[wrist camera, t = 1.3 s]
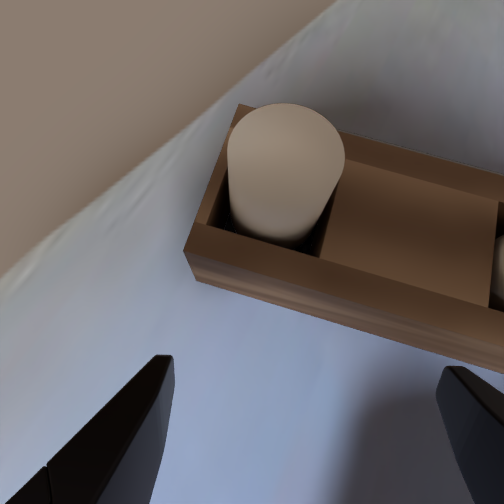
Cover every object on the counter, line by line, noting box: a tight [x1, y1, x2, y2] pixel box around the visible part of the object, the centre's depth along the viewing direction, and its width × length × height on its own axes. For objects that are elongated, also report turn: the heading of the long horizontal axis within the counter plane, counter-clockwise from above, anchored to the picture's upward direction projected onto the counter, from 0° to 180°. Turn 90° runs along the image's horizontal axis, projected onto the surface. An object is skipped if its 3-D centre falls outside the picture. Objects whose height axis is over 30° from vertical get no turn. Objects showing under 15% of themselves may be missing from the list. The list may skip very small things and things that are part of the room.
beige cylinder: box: [227, 103, 345, 250], centre depth 19 cm, size 5×5×6 cm
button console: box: [183, 104, 504, 374], centre depth 22 cm, size 9×21×6 cm, turn 73°
